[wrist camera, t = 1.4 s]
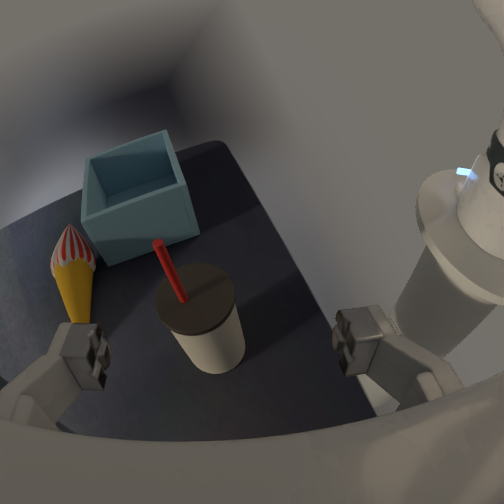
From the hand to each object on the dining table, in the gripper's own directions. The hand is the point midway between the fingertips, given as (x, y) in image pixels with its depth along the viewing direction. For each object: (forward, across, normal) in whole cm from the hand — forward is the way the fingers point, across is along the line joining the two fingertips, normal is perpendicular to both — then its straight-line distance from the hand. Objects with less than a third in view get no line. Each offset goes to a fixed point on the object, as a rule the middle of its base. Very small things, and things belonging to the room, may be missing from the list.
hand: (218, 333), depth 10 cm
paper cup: (+15, +1, +18) cm, 23 cm away
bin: (+37, +11, +12) cm, 40 cm away
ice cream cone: (+24, +19, +17) cm, 35 cm away
